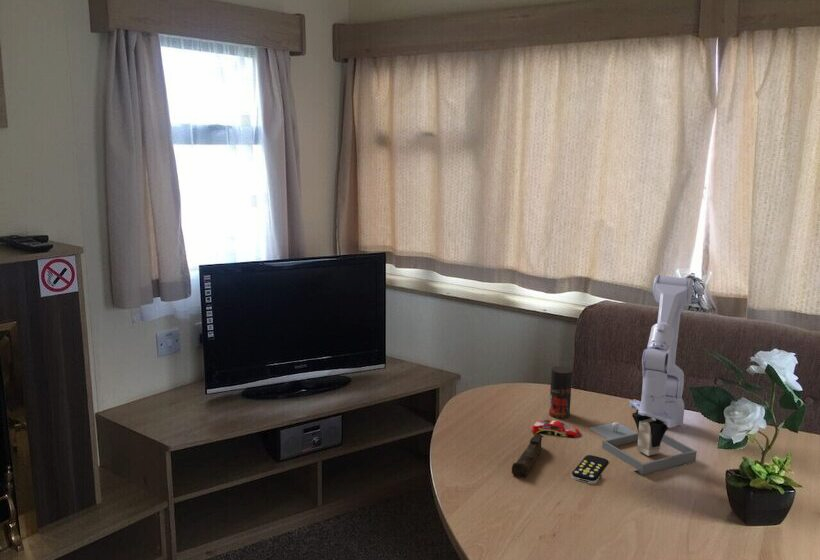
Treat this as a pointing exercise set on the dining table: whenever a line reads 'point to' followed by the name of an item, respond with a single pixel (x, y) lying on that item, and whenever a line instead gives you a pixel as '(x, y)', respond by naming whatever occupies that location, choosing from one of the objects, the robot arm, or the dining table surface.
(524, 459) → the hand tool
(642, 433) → the beige block
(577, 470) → the remote control
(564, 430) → the race car
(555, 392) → the deodorant
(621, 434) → the stud plate
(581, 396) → the dining table surface
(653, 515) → the dining table surface
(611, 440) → the bin
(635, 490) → the dining table surface
